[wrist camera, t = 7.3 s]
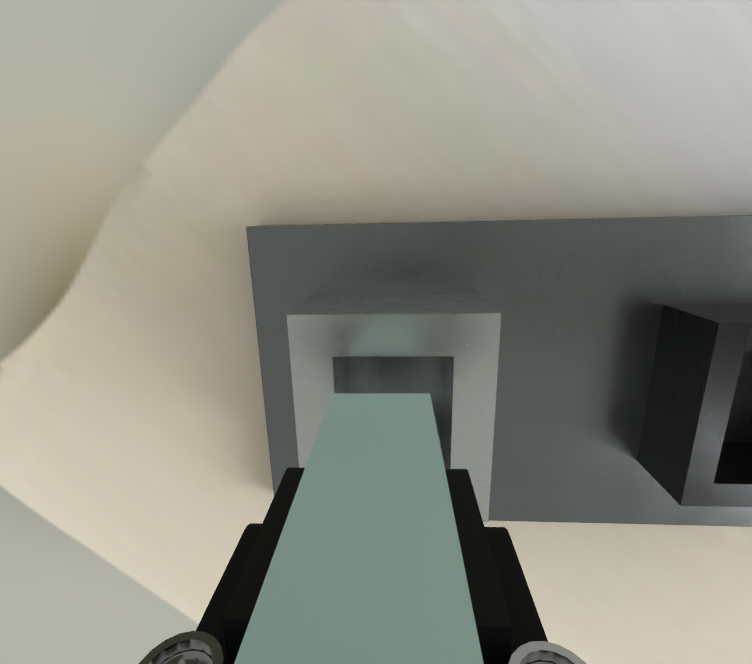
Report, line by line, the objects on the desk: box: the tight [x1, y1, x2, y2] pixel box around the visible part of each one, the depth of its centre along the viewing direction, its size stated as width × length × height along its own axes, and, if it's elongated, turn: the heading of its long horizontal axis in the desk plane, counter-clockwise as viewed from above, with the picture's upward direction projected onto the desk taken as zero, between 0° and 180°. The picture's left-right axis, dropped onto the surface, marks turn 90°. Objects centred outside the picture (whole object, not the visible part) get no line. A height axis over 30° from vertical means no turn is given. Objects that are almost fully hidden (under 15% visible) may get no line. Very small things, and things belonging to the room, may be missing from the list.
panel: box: [246, 215, 752, 527], centre depth 17 cm, size 26×14×5 cm, turn 91°
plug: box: [234, 393, 484, 664], centre depth 8 cm, size 3×4×10 cm
